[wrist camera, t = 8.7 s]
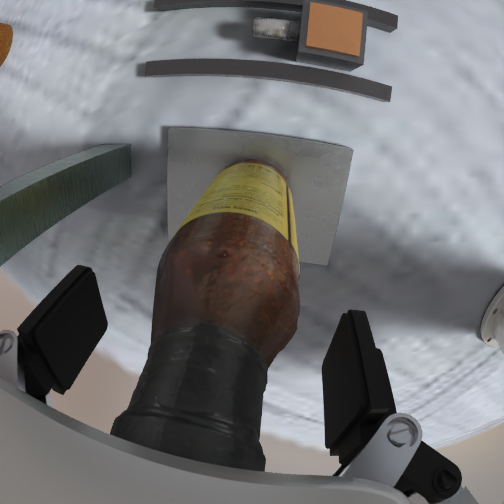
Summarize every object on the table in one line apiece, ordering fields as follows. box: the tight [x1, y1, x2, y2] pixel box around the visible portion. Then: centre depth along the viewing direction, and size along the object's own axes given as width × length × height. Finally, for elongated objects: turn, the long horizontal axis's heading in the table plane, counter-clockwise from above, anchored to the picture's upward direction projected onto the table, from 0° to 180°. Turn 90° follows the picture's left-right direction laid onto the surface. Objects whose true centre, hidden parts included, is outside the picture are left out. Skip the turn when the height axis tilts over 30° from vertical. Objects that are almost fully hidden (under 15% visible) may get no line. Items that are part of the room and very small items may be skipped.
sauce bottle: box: [110, 160, 300, 472], centre depth 13 cm, size 7×6×20 cm
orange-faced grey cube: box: [253, 0, 368, 72], centre depth 14 cm, size 7×4×4 cm, turn 84°
